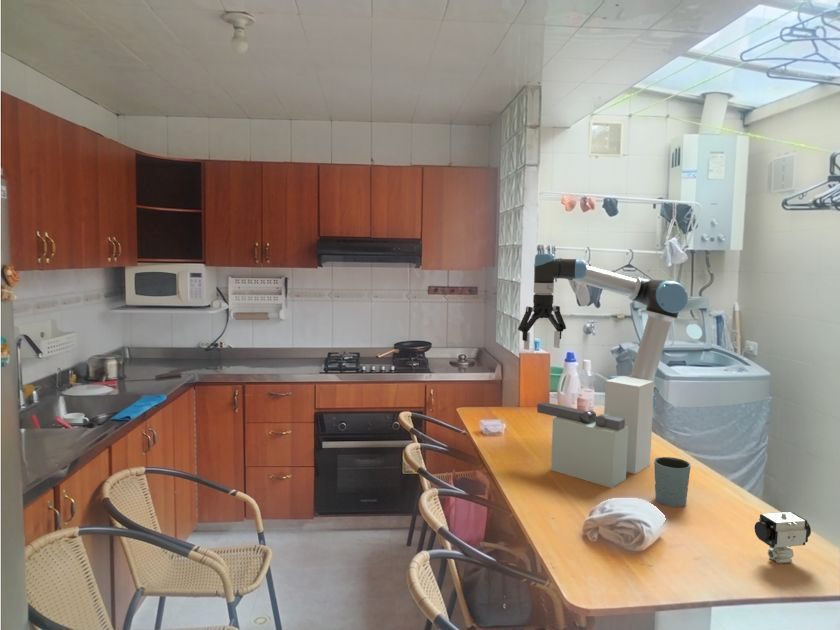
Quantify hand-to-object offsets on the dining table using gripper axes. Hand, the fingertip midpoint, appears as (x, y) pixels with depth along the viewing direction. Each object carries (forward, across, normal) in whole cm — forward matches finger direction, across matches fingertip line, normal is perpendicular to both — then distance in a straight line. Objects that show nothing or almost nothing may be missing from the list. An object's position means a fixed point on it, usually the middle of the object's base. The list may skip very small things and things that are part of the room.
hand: (541, 348), depth 231 cm
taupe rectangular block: (+37, +14, -34) cm, 52 cm away
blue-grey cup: (+37, +6, -63) cm, 73 cm away
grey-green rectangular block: (+37, -4, -37) cm, 52 cm away
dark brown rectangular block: (+19, -8, -29) cm, 35 cm away
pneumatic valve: (+37, +5, -100) cm, 107 cm away
